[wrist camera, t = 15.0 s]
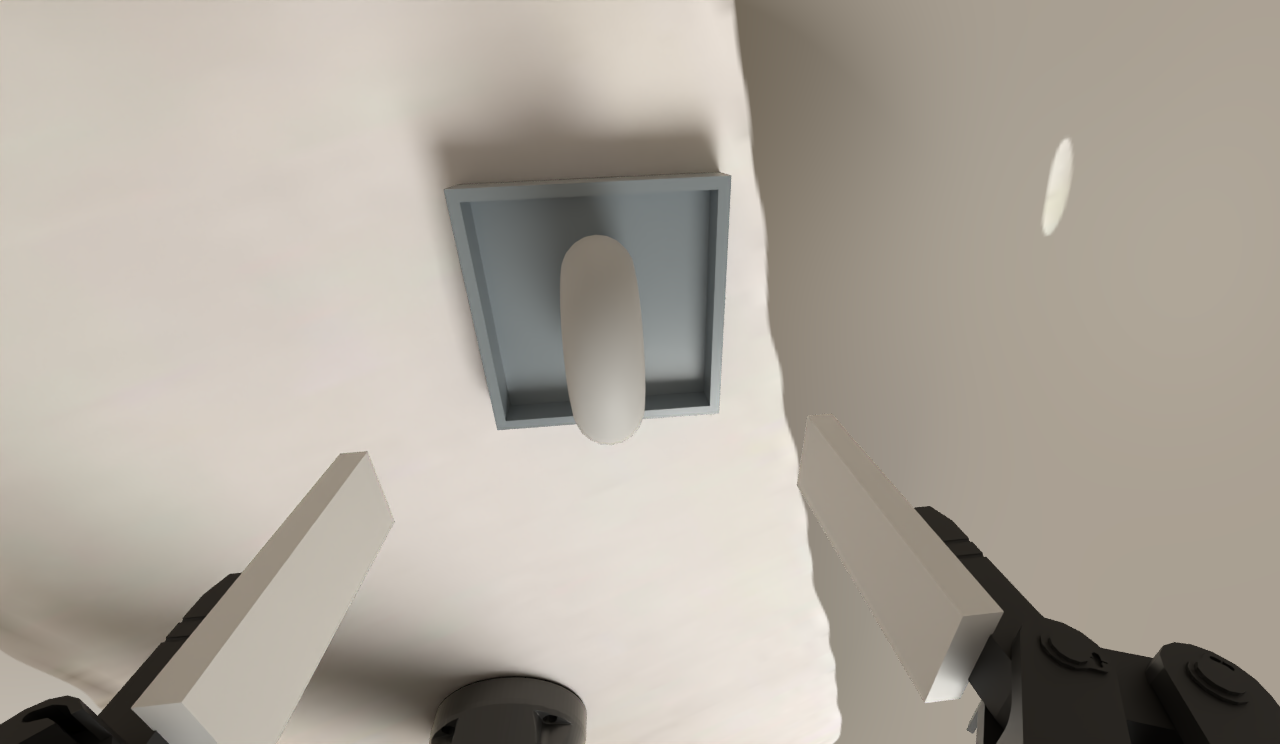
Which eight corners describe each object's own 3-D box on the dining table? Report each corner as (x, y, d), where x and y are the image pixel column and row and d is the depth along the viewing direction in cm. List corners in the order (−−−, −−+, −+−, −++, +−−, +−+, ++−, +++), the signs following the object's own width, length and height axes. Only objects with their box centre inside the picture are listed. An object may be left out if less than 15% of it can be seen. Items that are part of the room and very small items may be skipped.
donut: (636, 379, 29) (652, 487, 20) (581, 383, 29) (573, 494, 20) (628, 215, 24) (644, 261, 15) (563, 219, 24) (542, 267, 15)
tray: (710, 393, 30) (719, 413, 28) (504, 409, 30) (497, 430, 28) (719, 172, 24) (731, 175, 22) (457, 184, 23) (443, 189, 21)
